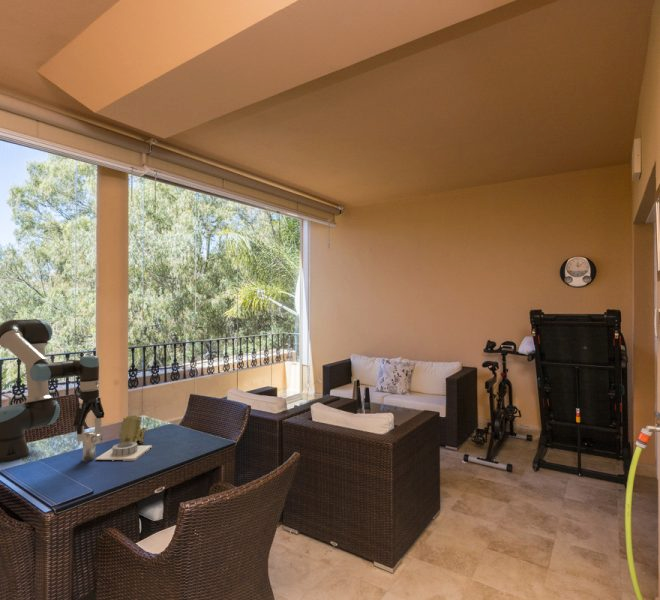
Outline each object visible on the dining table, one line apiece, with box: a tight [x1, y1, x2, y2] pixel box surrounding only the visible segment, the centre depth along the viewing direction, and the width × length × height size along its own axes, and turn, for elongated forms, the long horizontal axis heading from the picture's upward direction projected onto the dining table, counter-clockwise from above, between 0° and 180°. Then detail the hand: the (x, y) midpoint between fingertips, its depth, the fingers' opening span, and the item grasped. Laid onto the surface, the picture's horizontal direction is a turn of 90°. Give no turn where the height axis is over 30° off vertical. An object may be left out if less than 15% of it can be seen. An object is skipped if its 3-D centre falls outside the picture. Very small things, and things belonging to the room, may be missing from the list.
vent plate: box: [94, 442, 153, 462], centre depth 195 cm, size 18×18×4 cm
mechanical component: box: [119, 414, 147, 444], centre depth 211 cm, size 8×17×20 cm, turn 175°
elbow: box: [82, 430, 103, 462], centre depth 188 cm, size 8×5×12 cm, turn 90°
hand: (89, 436), depth 188 cm, fingers open, 13 cm apart
